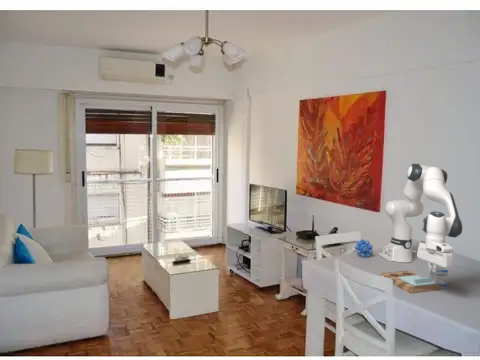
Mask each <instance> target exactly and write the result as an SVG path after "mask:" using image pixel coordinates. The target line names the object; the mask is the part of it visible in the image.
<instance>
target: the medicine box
mask: <svg viewBox="0 0 480 360" xmlns="http://www.w3.org/2000/svg"><path fill="white" fill-rule="evenodd" d="M448 272H449V270H448V269H447V268H444V267H441V268H440V267H438V268H437V272H435V273H434V272H432V271H430V270H429V277H430V278H431V281H432V282H434V284H439V285H440V286H439V287H444V286H445V287H446V286H447V284H448V276H449V275H448V274H449V273H448Z"/></svg>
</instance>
